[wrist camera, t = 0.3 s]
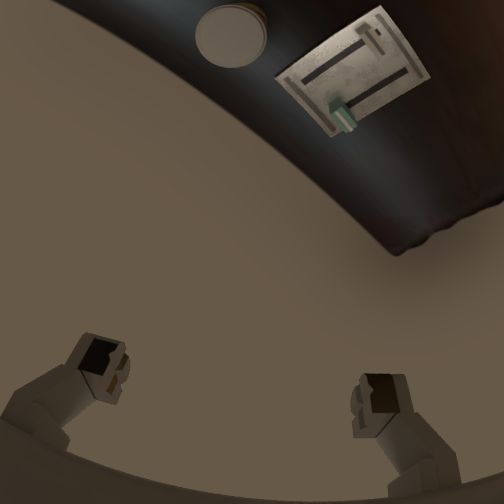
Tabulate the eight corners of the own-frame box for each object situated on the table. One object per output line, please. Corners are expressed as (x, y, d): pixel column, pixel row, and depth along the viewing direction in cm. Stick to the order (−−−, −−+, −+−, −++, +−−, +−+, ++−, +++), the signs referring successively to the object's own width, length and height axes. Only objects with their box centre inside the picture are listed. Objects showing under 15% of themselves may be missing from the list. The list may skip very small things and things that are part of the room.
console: (378, 4, 36) (381, 5, 34) (427, 74, 43) (431, 78, 42) (275, 75, 49) (274, 79, 48) (330, 133, 56) (331, 139, 55)
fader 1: (339, 97, 49) (341, 107, 46) (354, 115, 51) (357, 127, 48) (328, 104, 50) (330, 115, 47) (343, 122, 52) (346, 134, 49)
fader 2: (367, 23, 37) (372, 28, 35) (383, 44, 40) (390, 51, 37) (355, 30, 39) (359, 36, 36) (372, 51, 41) (377, 58, 38)
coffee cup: (274, 47, 45) (268, 68, 37) (218, 50, 46) (199, 72, 39) (271, -5, 38) (263, 2, 30) (211, 0, 39) (188, 10, 32)
